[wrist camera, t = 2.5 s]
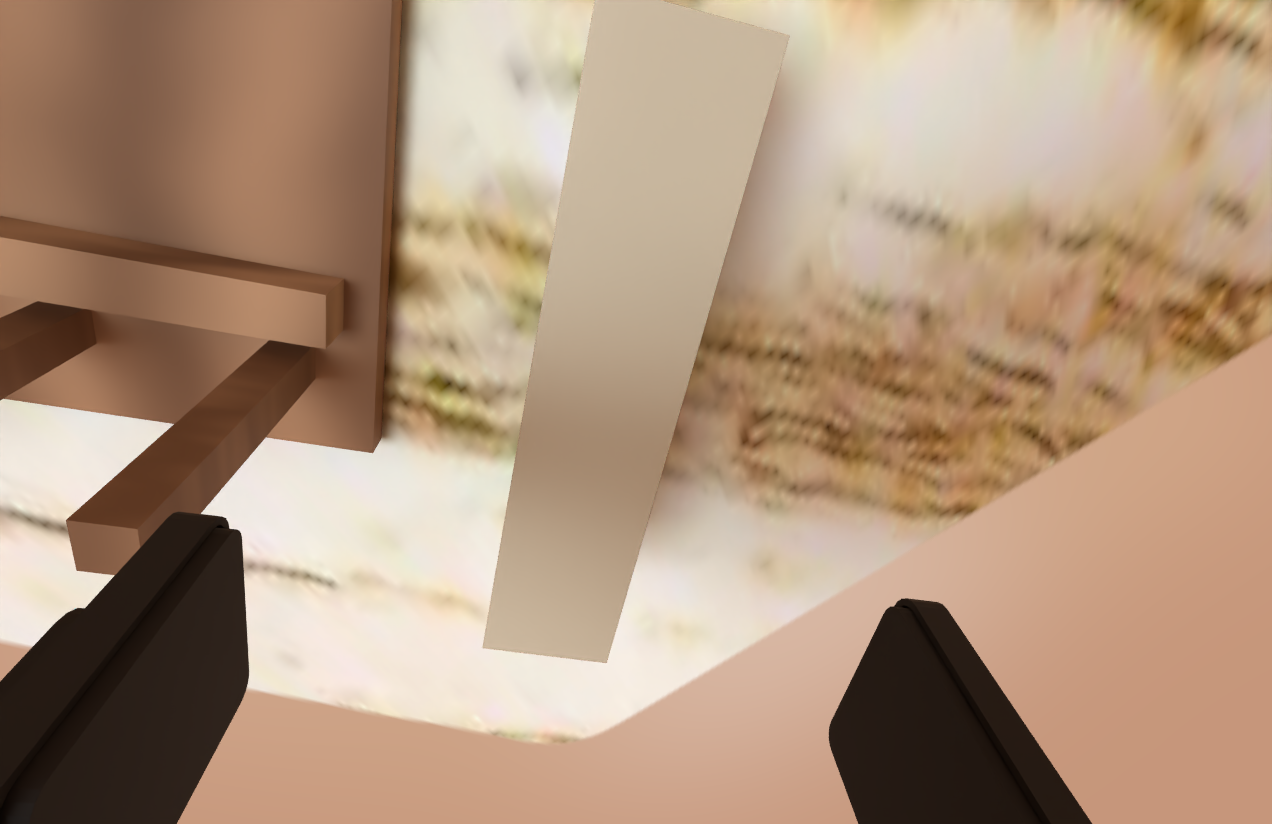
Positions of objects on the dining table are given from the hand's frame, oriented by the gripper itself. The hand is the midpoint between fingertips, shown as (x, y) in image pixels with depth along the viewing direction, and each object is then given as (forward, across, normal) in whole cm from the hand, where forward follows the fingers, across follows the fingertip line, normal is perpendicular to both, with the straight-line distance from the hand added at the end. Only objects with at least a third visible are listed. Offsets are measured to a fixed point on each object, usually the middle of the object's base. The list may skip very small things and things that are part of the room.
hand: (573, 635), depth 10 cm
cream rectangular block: (+13, -1, -1) cm, 13 cm away
